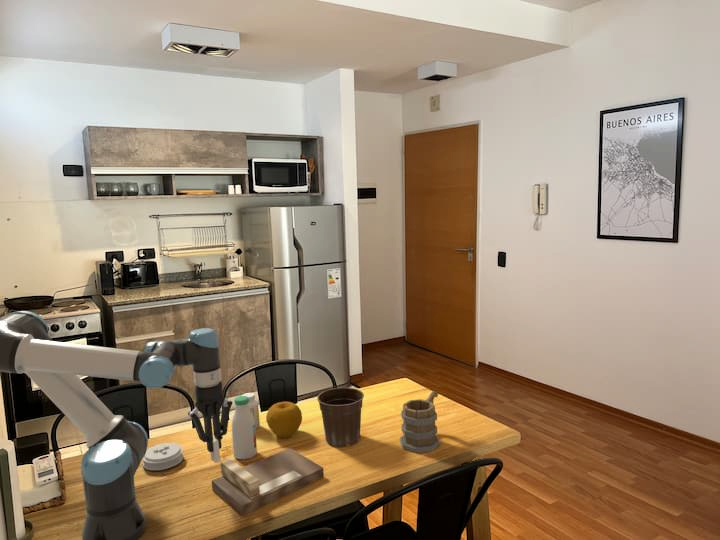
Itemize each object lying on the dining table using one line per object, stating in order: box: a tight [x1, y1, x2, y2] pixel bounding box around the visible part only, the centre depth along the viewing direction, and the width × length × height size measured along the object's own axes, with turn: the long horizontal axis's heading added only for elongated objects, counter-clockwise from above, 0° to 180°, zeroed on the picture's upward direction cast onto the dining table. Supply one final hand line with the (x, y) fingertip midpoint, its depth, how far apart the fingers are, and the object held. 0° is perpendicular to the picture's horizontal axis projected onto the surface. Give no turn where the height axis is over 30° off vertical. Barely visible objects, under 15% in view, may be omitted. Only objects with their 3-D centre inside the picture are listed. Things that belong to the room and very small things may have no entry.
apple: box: [265, 401, 303, 439], centre depth 192 cm, size 13×13×11 cm
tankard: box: [399, 390, 441, 454], centre depth 184 cm, size 20×13×15 cm, turn 143°
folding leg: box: [220, 458, 260, 497], centre depth 155 cm, size 17×3×4 cm, turn 42°
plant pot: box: [317, 387, 365, 448], centre depth 186 cm, size 16×16×16 cm
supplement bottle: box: [241, 392, 261, 430], centre depth 199 cm, size 7×7×13 cm
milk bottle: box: [231, 395, 258, 460], centre depth 178 cm, size 8×8×20 cm
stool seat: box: [211, 447, 325, 517], centre depth 161 cm, size 28×18×3 cm, turn 132°
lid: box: [142, 442, 184, 471], centre depth 175 cm, size 13×13×5 cm
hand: (215, 460), depth 155 cm, fingers closed
